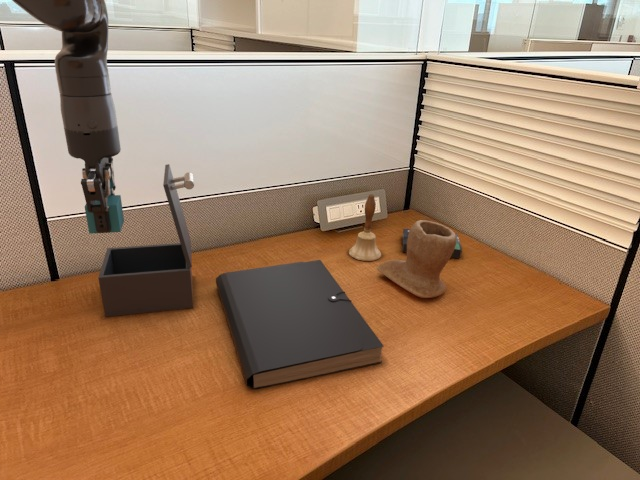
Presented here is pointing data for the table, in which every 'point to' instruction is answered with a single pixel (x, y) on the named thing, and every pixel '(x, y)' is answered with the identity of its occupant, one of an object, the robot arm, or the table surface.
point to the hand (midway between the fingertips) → (106, 225)
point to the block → (114, 214)
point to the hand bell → (366, 237)
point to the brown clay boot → (422, 259)
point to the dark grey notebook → (294, 324)
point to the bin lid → (179, 208)
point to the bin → (145, 280)
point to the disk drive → (455, 253)
